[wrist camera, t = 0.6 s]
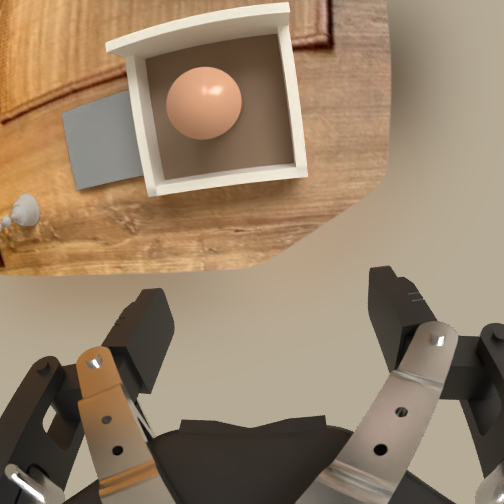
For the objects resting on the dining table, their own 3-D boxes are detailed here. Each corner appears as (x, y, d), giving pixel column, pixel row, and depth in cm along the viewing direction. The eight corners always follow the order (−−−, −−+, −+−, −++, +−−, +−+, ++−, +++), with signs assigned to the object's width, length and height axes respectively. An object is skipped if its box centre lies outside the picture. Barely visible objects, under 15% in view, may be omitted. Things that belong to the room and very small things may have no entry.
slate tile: (66, 112, 31) (61, 113, 30) (135, 89, 30) (131, 88, 29) (80, 188, 35) (76, 190, 34) (149, 173, 34) (146, 174, 33)
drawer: (139, 54, 28) (105, 42, 21) (285, 27, 26) (288, 2, 19) (161, 188, 35) (133, 208, 27) (304, 169, 33) (312, 185, 26)
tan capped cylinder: (184, 83, 29) (161, 75, 22) (243, 72, 28) (235, 60, 22) (192, 139, 31) (172, 145, 25) (251, 130, 30) (245, 133, 24)
